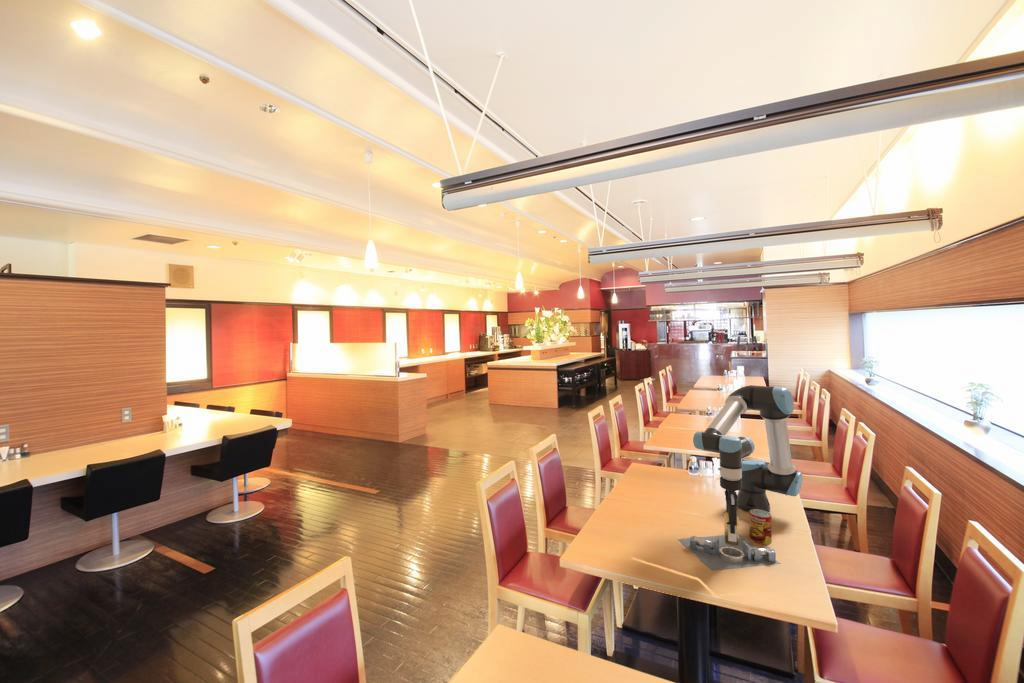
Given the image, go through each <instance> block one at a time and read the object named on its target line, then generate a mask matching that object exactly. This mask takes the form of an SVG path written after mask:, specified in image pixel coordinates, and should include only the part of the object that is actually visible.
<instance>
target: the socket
mask: <svg viewBox="0 0 1024 683" xmlns="http://www.w3.org/2000/svg"><path fill="white" fill-rule="evenodd" d="M724 553H733V554H736V555H739V556H740V557H732V556H729V555H726V554H724ZM720 557H721V558H722V559H723V560H725V561H728V562H731V563H743V562H744V561H745V555H744V553H743V552H742V551H741V550H739V549H736V548H733V547H722V548H720Z"/></svg>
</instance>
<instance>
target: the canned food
mask: <svg viewBox="0 0 1024 683" xmlns="http://www.w3.org/2000/svg"><path fill="white" fill-rule="evenodd" d="M772 533H773V532H772V513H770V511H769V512H767V511H765V510H760V509H752V510H750V512H749V538H750V540H751V541H753V542H755V543H758V544H761V545H770V544H772V543H773V542H772V541H773V539H772Z"/></svg>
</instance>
